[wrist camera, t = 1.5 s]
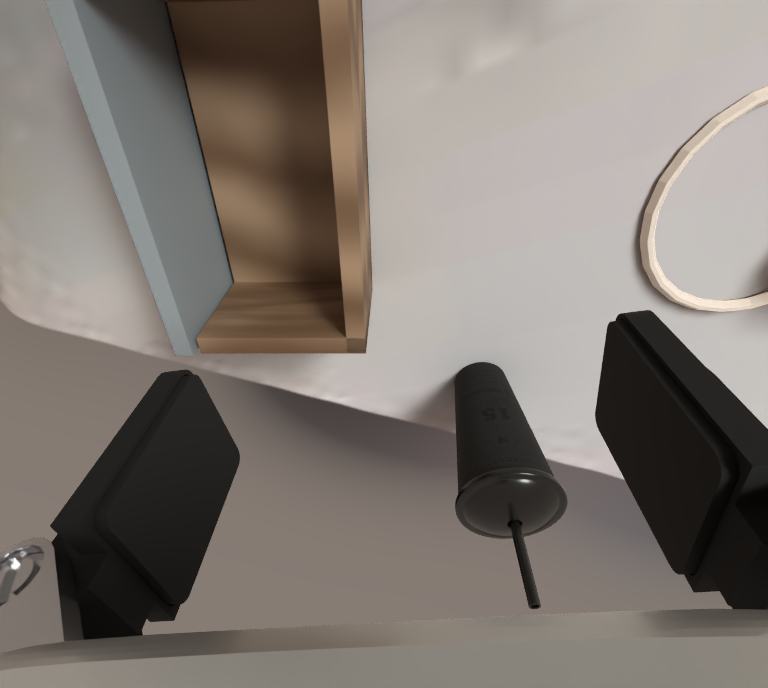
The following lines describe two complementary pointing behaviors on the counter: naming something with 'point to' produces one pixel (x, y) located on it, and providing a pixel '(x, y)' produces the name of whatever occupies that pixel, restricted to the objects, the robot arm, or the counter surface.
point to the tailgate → (149, 152)
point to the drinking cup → (501, 467)
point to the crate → (283, 168)
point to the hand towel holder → (660, 194)
